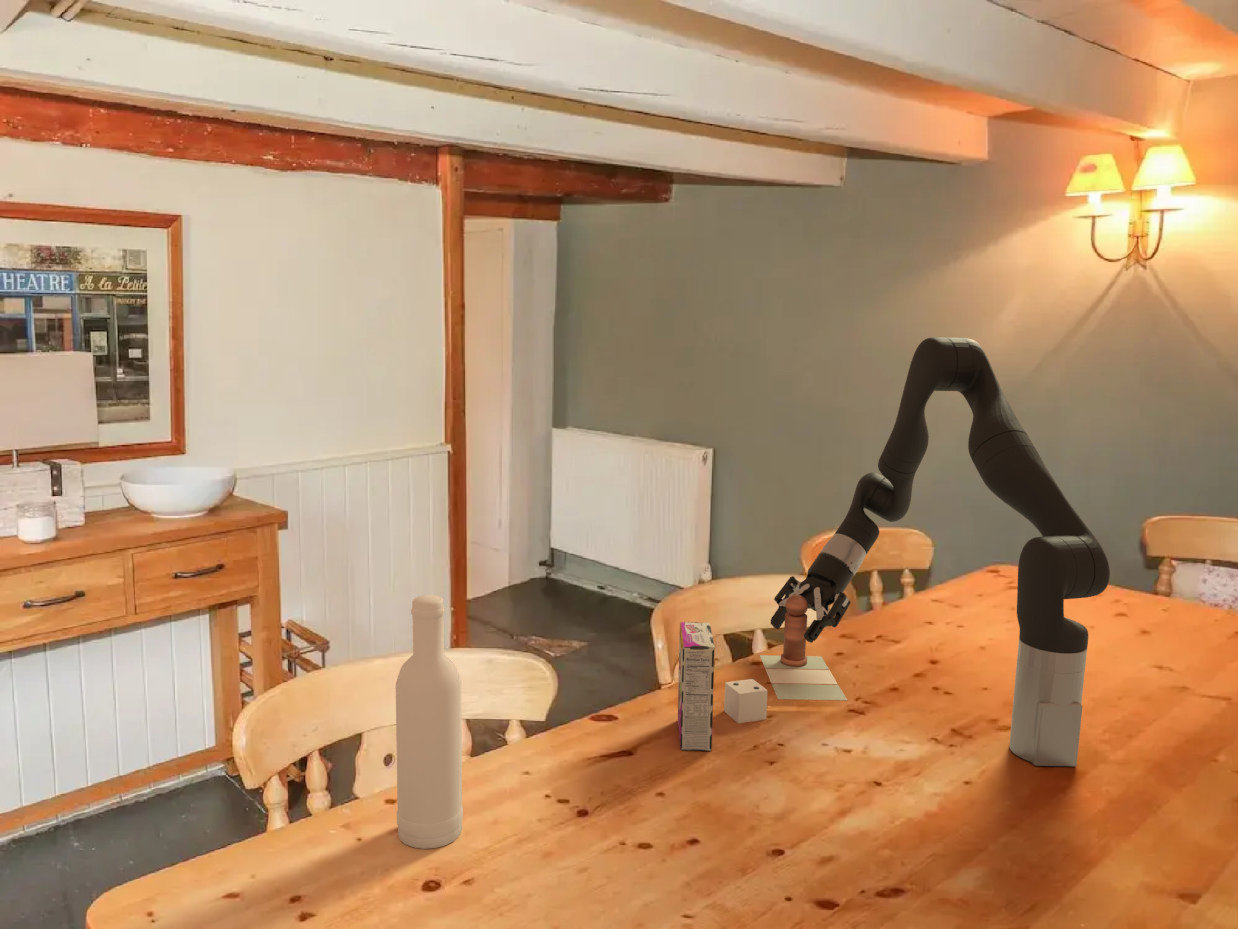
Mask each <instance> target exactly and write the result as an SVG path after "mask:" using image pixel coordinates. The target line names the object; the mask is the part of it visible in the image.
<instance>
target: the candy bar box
mask: <svg viewBox="0 0 1238 929" xmlns="http://www.w3.org/2000/svg"><path fill="white" fill-rule="evenodd" d="M678 638H679V640H678V642H679V643H678V685H677V688H678V690H677V693H678V694H677V703H678V704H677V724H678V725H677V726H678V734H679V744H680V745H679V746H680V750H681V751H684V752H685V751H686V752H689V751H690V752H692V751H693V752H694V751H695V752H712V748H713V744H712V743H713V718H714V717H713V716H714V686H715V684H714V679H715V678H714V676H715V642H714V637H713V633H712V627H711V624H710V622H697V621H696V622H695V621H694V622H693V621H691V622H690V621H682V622H679V636H678Z"/></svg>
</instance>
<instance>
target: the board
mask: <svg viewBox="0 0 1238 929" xmlns="http://www.w3.org/2000/svg"><path fill="white" fill-rule="evenodd" d="M805 656H806V657H807V664H806V665H805V666H802V667H791V666H787V665H784V664H782V663H781V655H766V654H765V655H761V654H760V655H759V657H760V660H761V663H762V666H763V667H764V669H765V671H766V675H767V678H769V681H770V684H771V686H772V688H773V691H774V693H775V695H776V697H777V700H798V701H799V700H801V701H802V700H803V701H805V700H807V701H848V699H847V696H845V693H844V692H843V690H842V689H841V687H840V686H839V684H838V682H837V681H836V678H835V676H834V675H833V674H832V672H831V670H830V668H829V667H828V665H827V664H826V662H825V660H824V658H823V657H822V655H821V656H816V655H815V656H814V655H805Z"/></svg>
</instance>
